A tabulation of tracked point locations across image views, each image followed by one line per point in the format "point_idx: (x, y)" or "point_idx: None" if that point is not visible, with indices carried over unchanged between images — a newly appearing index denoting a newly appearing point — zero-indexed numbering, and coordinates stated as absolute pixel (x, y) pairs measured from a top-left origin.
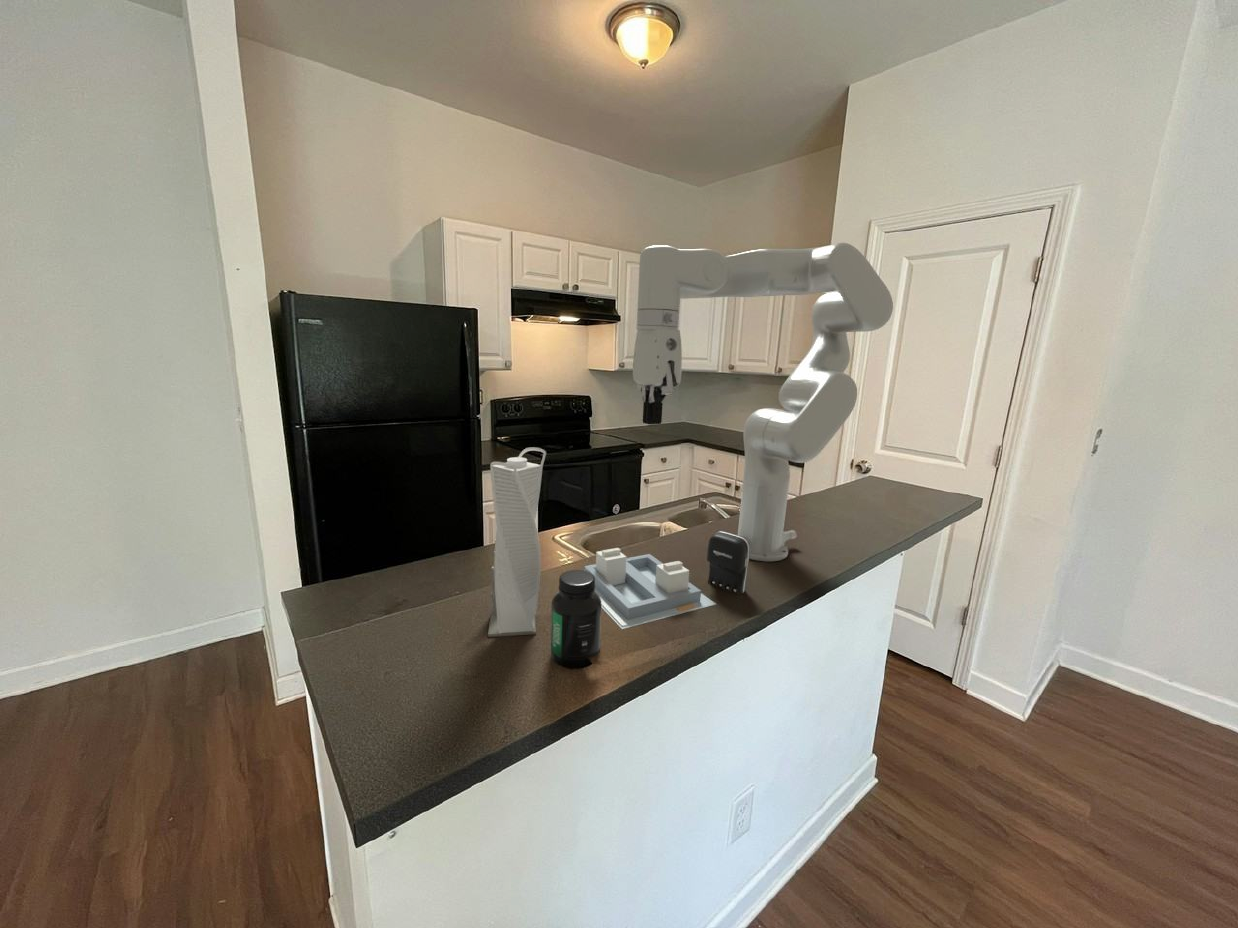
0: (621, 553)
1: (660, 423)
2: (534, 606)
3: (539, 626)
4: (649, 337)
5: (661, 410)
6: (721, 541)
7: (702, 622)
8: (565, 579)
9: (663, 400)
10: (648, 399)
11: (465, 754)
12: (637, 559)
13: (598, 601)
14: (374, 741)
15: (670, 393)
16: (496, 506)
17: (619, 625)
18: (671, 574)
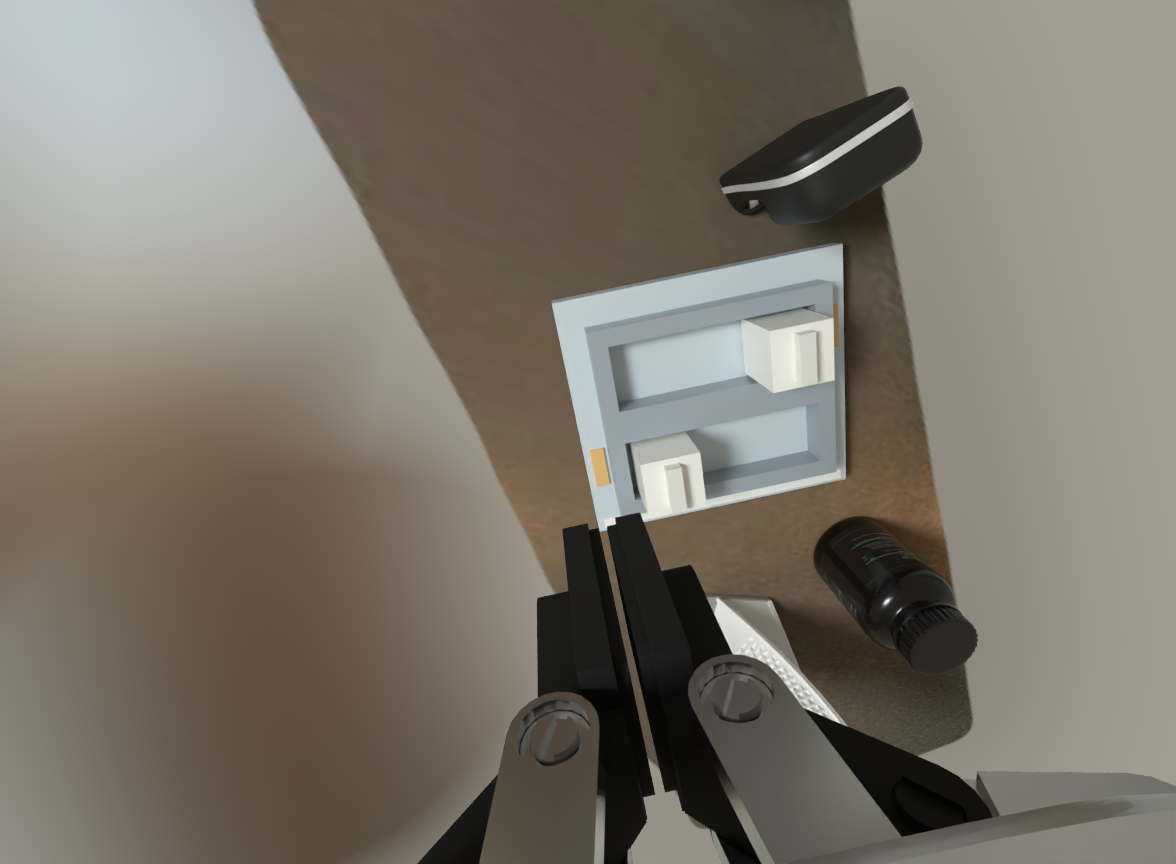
0: (676, 459)
1: (637, 514)
2: (748, 618)
3: (749, 590)
4: None
5: (667, 589)
6: (862, 196)
7: (853, 295)
8: (942, 667)
9: (776, 688)
10: (639, 818)
11: (955, 670)
12: (613, 379)
13: (943, 585)
14: (895, 742)
15: (1127, 791)
16: None
17: (833, 480)
18: (834, 374)
